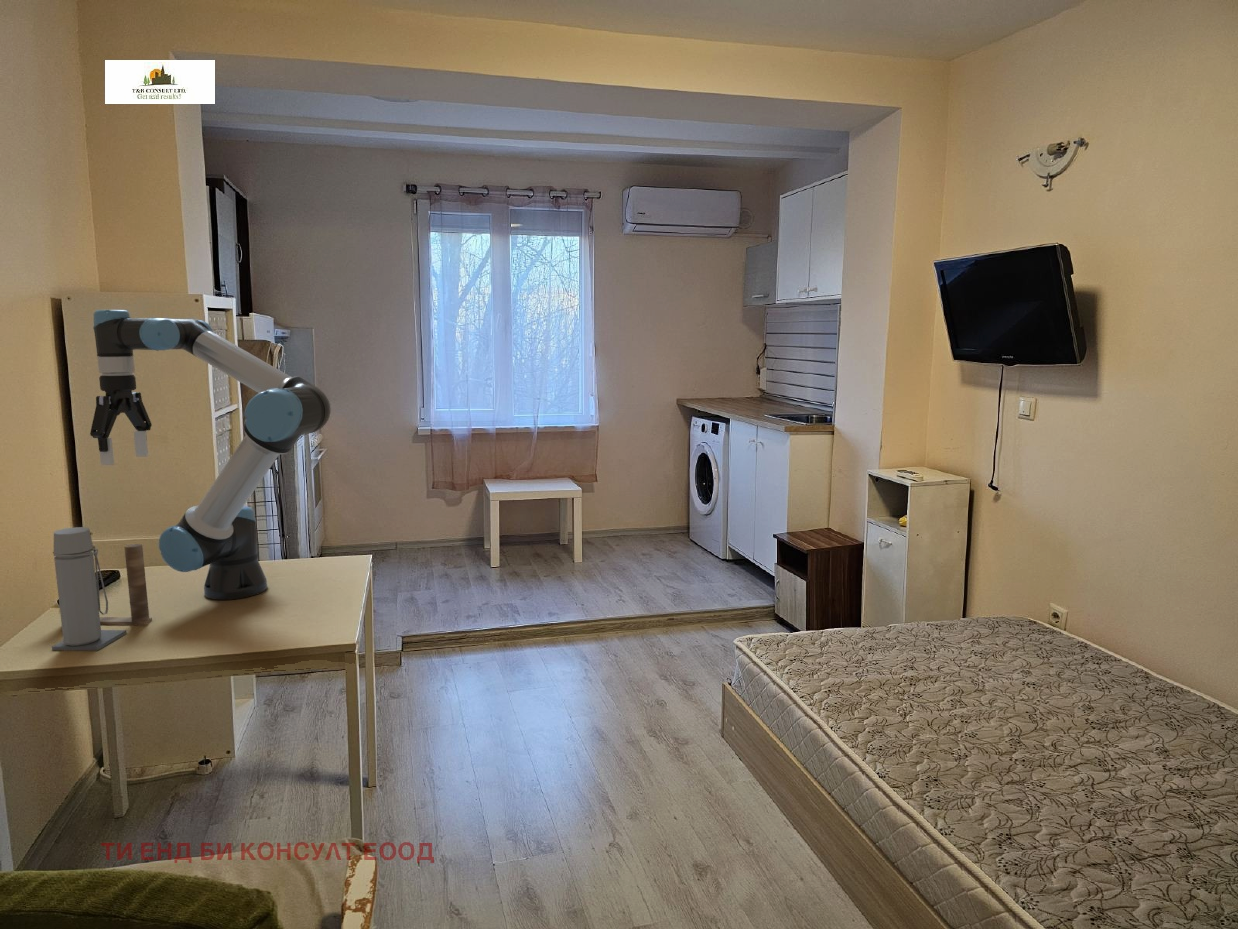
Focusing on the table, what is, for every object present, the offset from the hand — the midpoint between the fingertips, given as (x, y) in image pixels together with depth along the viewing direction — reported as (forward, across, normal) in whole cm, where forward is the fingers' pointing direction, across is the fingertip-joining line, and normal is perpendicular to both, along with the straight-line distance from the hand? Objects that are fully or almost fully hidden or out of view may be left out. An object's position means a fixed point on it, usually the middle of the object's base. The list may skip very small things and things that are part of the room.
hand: (125, 460), depth 198 cm
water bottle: (+36, +27, +5) cm, 45 cm away
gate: (+37, +14, +1) cm, 39 cm away
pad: (+37, +26, +5) cm, 45 cm away
